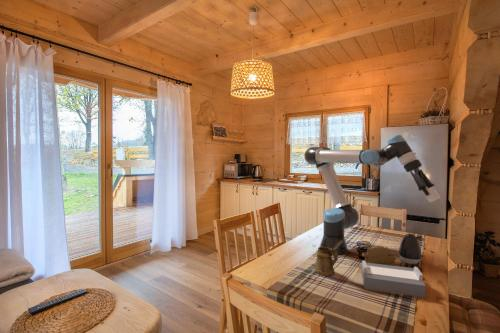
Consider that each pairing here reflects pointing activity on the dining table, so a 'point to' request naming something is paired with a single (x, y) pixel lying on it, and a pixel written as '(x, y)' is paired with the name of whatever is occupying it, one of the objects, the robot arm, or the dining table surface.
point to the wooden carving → (379, 255)
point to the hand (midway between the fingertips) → (435, 200)
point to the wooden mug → (326, 260)
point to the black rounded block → (410, 249)
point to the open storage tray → (393, 279)
